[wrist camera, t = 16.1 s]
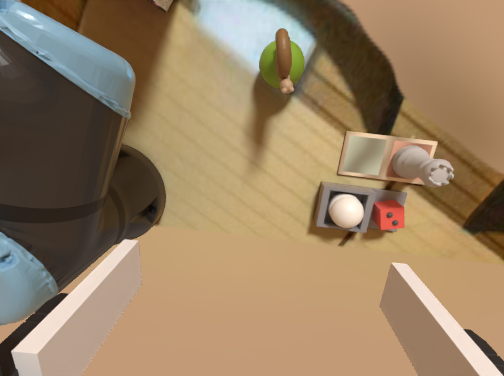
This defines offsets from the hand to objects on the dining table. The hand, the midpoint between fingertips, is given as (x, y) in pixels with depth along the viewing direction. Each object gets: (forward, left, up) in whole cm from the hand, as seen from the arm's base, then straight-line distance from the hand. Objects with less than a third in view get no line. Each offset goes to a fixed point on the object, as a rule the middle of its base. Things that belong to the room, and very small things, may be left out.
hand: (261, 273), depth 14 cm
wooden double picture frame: (+6, +14, -26) cm, 31 cm away
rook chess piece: (+8, +17, -26) cm, 32 cm away
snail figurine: (-11, +7, -26) cm, 29 cm away
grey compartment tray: (+11, +9, -26) cm, 30 cm away
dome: (+10, +7, -25) cm, 28 cm away
